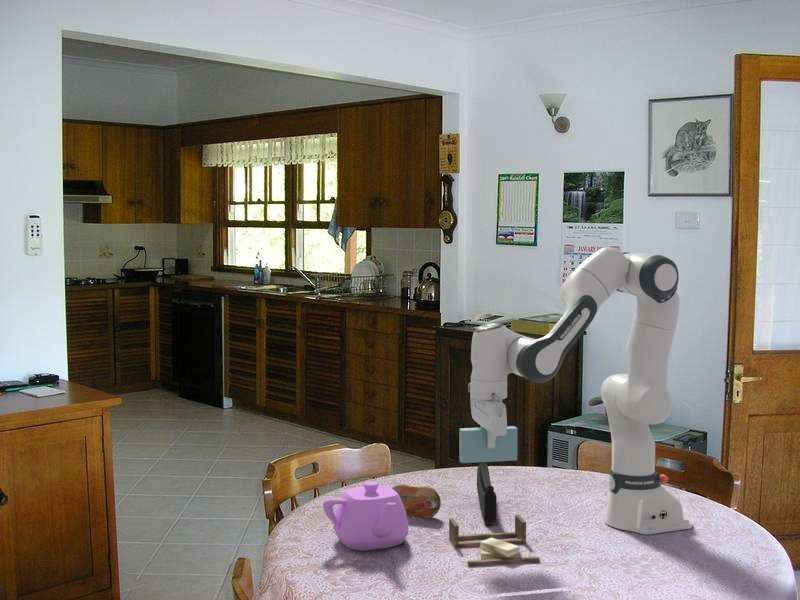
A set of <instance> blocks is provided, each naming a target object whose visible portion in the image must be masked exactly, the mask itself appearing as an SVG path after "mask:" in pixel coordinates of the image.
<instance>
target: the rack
mask: <svg viewBox="0 0 800 600" xmlns="http://www.w3.org/2000/svg"><path fill="white" fill-rule="evenodd" d="M448 521H449V522H448V541H450V543H451V545H452V546H453V548H454V549H455V548H456V549H458V548H475V547H476V548H477V547H479V548H480V542H481V541H482V540H483V539H484V540H486V539H489V538H495V539H500V540H501V541H504V542H507V543H511V544H514V545H526V544H527V521H526V520H525V519H524V518H523V517H522V516H521V515H520V514H514V531H510V532H493V533H492V532H491V533H473V534H472V533H471V534H459V533H460V530H459V529H460V528H459V527H460V525H459V524H458V523H457V521H456V520H455V518H454V517H449V519H448ZM504 538H510V539H504ZM511 538H513V539H511ZM468 540H469V541H468ZM471 540H476V541H471ZM477 540H479V541H477ZM460 541H461V542H460ZM462 541H463V542H462ZM540 560H541V558H540V557H539V556H526V557H525V556H524V557H521V558H507V559H490V560H481V559H479V560H478V559H476V560H475V559H473V560H467V566H468V567H480V566H497V565H498V566H499V565H513V564H526V563H529V564H530V563H540V562H541V561H540Z"/></svg>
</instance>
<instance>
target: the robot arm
mask: <svg viewBox="0 0 800 600" xmlns="http://www.w3.org/2000/svg"><path fill="white" fill-rule="evenodd" d="M679 277H680V276H679V269H678V266H677V264H676V263H675V262H674V261H673V260H672V259H670V258H669V257H667V256H664V255H661V254H653V253H648V252H622V251H620V250H619V249H617V248H615V247H611V246H604V247H601V248H600V249H598V250H597V251H595V252H594V253H592V254H591V255H589V256H588V257H587V258H585V259H584V261H582V262H581V263H580V264H578V266H577V267H576V268H575V269H574V270H573V271H572V272H571V273H570V274H569V275H568V276H567V277H566V279H565V280H564V282H563V283H562V285H561V287H560V298H561V301H562V303H563V305H564V306H565V312H564V313H563V315H562V316H561V317H560V319H559V320H558V321H557V322H556V323H555V325H554V326H553V327H552V328H551V330H550V331H548V333H547V334H546V335H545V336H543V337H540V338H532V337H530V336H525V335H523V334H520V333H517V332H516V331H513V330H511V329H510V328H508V327H507V326H505V325H504V323H501V322H500V323H499V322H495V323H494V322H493V323H485V324H482V325H479V326H478V327H476V328H475V329H474V331H473V334H472V338H471V347H470V348H471V350H470V351H471V352H470V362H471V365H472V371H471V374H470V382H469V383H468V384H467V385H468V386H467V387H468V388H467V390H468V393H470V395H469V396H470V397H469V398H470V399H469V401H470V411H471V412H470V413H471V418H472V420H473V421H475V422H476V423H477V424H478V425H480V428H482V427H483V428H484V429H485V430H486V431H487V434H488V438H487V440H486V443H487V444H486V446H487V447H488V448H489V449H490V448H495V440H496V437H497V436H504V435H506V433H507V426H508V420H507V418H508V417H507V407H506V404H505V403H504V402H503V400H505V399H506V398H507V397H508V376H509V374H515V375H517V376H519V377H522V378H525V379H526V380H528V381H530V382H532V383H535V384H543V383H547V382H549V381H551V380H552V379H554V377H555V376H556V375H557V373H558V372H559V370H560V368H561V366H562V364H563V361H564V359H565V357H566V355H567V354H568V353H569V351H570V350H571V348H573V346H574V344H575V343H576V342H577V341H578V340H579V338H580V337H581V336H582V335H583V333H584V332H585V331H586V330H587V329H588V327H589V326H590V324H592V322H593V320H594V319H595V317H596V315H597V312H598V311H599V310H600V308H601V307H602V306H603V305H604V303H605V302H606V301H608V299H609V298H610V297H611V296H612V295H613V294H614V292H615V291H617V292H619V293H625V294H628V295H633V296H635V297H636V303H637V304H636V305H637V307H636V310H635V313H634V316H633V319H632V322H631V327H630V331H629V334H628V338H627V342H626V345H625V355H626V357H627V364H628V365H627V366H628V367H627V368H628V373H615V374H611V375H609V376H608V377H607V378H605V379H604V380H603V382H602V383H601V386H600V391H599V392H600V397H601V398H600V399H601V401H602V402H603V404H604V407H605V410H606V414H607V420H608V426H609V430H610V437H611V468H609V478H608V479H609V480H608V486H609V499H608V503H607V504H608V505H607V509H606V512H605V515H604V519H603V522H604V523H605V524H607V525H608V526H610V527H611V528H615V529H618V530H621V531H622V530H623V531H629V532H633V533H637V534H640V535H647V536H648V535H654V534H662V533H669V532H675V531H683V530H689V529H690V530H691V529H692V528H693V523H692V521H691V519H690V518H688V516H686V515H684V512H683V511H684V510H683V505H682V502H681V501H680V500H679V499H678V497H676V496H675V495H673V494H672V492H670V490H668V489H666V488H665V487H664V486H663V485H662V484H667V483H668V482H669V477H668V475H665V474H664V473H660V472H658V471H656V469H655V467H656V442H655V439H654V437H653V434H652V433H651V430H650V426H649V425H659V424H662V423H663V422H664V421H666V420H667V419H668V418H669V417H670V415H671V413H672V410H673V401H672V397H671V395H670V393H669V388H668V363H669V357H670V354H671V349H672V346H673V340H674V339H675V334H676V329H677V326H678V321H679V320H678V319H679V314H680V313H679V311H680V296H679V294H678V293H677V289H678V284H679V279H680V278H679ZM661 483H662V484H661Z"/></svg>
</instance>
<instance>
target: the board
mask: <svg viewBox="0 0 800 600" xmlns="http://www.w3.org/2000/svg"><path fill="white" fill-rule="evenodd" d="M458 429H459V433H458V434H459V441H458V443H459V449H458V450H459V454H458V455H459V457H458V458H459V462H460V463H461V464H472V463H474V464H475V463H480V462H487V463H490V462H491V463H492V462H495V463H496V462H511V461H518V432H519V431H518V429H519V428H518V427H517V426H515V425H510V426H508V425H507V433H506V435H504V436H497V437H496V440H495V448H490V449H489V448H488V447H487V446H486V444H487V443H486V440H487V438H488V434H487V431H486V430H485V429H484V428H483V427H482V428H481V427H464V428H458Z"/></svg>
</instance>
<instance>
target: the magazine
mask: <svg viewBox="0 0 800 600" xmlns="http://www.w3.org/2000/svg"><path fill="white" fill-rule="evenodd" d="M487 463H488V462H479V465H478V466H477V469H476V470H477V471H476V489H477V490H476V491H477V498H478V503H479V508H480V510H479V511H480V512H481V517H482V520H483V522H484V524H487V525H494V524H495V525H496V524H497V523H498V514H497V512H498V511H497V510H498V508H497V507H498V506H497V501H498V500H497V494H496V492H495V488H494V486H493V485H492V483H491V477H490V471H489V466H488V465H487Z"/></svg>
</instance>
